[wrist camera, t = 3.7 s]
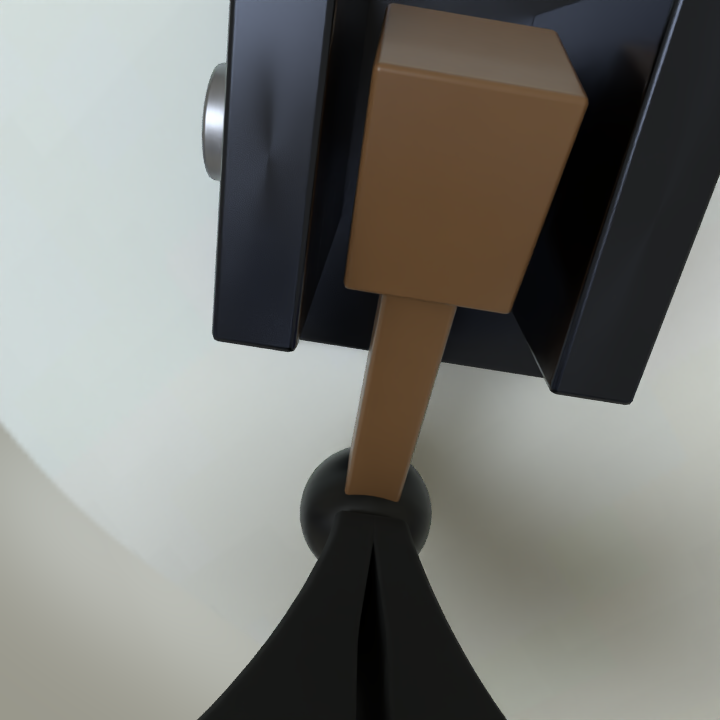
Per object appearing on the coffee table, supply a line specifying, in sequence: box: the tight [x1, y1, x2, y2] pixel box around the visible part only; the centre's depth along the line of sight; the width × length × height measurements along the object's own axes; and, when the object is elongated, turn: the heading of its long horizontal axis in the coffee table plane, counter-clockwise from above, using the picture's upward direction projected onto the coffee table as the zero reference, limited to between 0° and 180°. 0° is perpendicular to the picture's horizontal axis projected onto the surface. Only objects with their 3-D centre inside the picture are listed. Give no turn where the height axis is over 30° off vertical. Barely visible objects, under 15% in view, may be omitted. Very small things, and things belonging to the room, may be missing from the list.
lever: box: [300, 3, 589, 559], centre depth 11 cm, size 11×3×3 cm, turn 172°
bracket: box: [202, 0, 720, 405], centre depth 10 cm, size 10×8×8 cm
